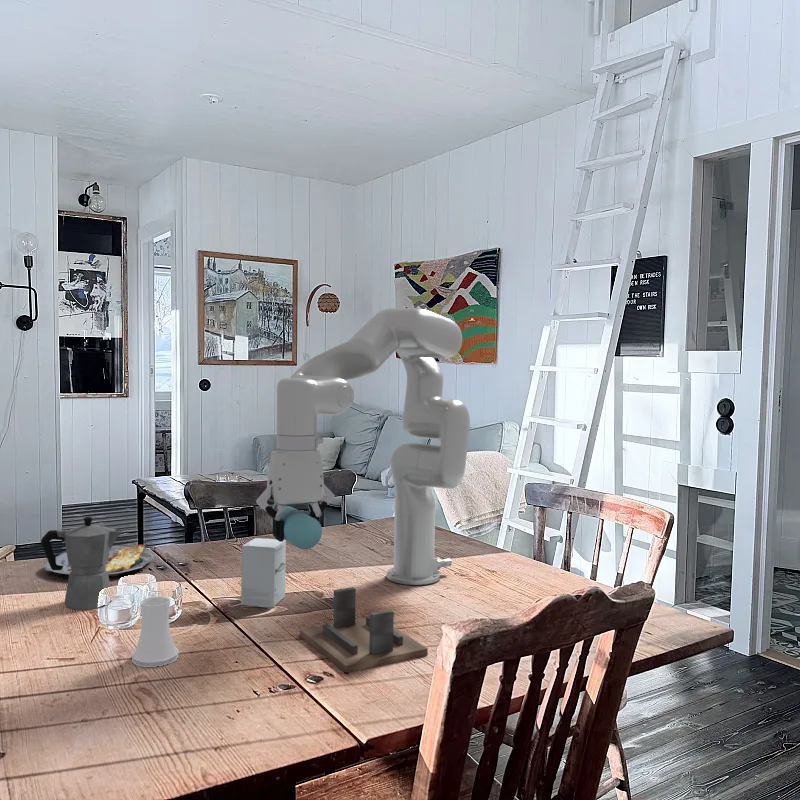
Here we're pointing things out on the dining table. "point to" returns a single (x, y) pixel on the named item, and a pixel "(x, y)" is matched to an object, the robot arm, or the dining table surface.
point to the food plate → (114, 560)
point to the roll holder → (361, 637)
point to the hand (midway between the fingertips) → (295, 537)
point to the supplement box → (263, 572)
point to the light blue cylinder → (300, 528)
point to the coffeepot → (83, 561)
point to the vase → (155, 635)
